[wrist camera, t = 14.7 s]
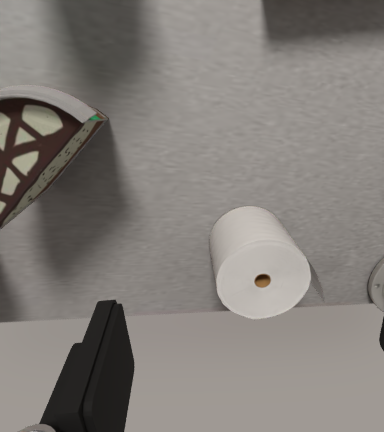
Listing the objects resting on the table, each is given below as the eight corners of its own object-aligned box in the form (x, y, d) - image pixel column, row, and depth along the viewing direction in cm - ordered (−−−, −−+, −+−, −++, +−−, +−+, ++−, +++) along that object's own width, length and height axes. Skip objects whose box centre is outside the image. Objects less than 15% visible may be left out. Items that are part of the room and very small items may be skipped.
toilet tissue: (201, 214, 42) (207, 250, 33) (289, 195, 41) (320, 227, 32) (216, 278, 46) (224, 326, 37) (296, 262, 46) (325, 307, 36)
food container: (62, 52, 34) (-3, 33, 22) (119, 105, 36) (88, 115, 24) (-15, 156, 38) (-104, 188, 26) (41, 198, 41) (-18, 246, 29)
